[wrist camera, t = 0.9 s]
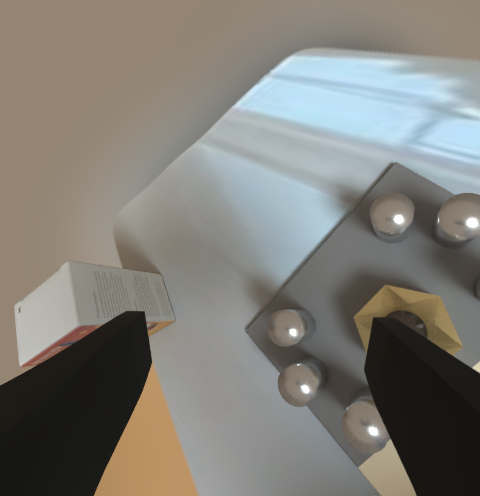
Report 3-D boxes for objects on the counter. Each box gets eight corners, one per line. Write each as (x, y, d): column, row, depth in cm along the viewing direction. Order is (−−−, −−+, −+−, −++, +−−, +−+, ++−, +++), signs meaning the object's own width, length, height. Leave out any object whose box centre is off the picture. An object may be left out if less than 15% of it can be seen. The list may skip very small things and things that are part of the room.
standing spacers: (557, 269, 16) (600, 259, 13) (356, 448, 20) (347, 479, 16) (409, 183, 21) (412, 158, 17) (265, 340, 24) (242, 346, 20)
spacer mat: (765, 371, 13) (775, 373, 13) (458, 585, 16) (460, 591, 16) (396, 164, 22) (396, 162, 22) (247, 330, 25) (245, 331, 25)
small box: (125, 351, 32) (16, 370, 23) (114, 305, 34) (11, 305, 25) (178, 320, 29) (78, 327, 20) (162, 272, 31) (66, 259, 22)
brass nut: (473, 325, 18) (483, 328, 16) (404, 388, 19) (405, 399, 17) (401, 271, 20) (402, 267, 18) (344, 329, 21) (338, 332, 19)
